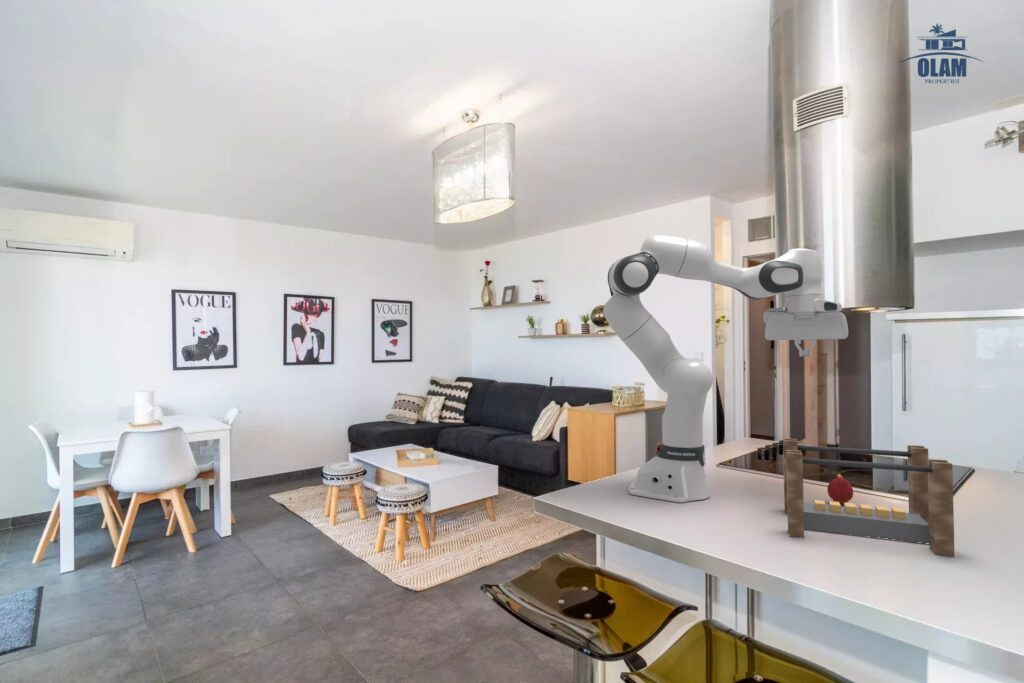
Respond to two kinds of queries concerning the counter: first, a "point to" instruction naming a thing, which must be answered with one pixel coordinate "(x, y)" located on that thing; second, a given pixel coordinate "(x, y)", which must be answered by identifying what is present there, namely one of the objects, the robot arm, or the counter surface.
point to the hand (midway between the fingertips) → (805, 356)
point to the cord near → (868, 465)
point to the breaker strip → (865, 521)
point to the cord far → (855, 450)
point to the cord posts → (924, 491)
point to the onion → (840, 490)
